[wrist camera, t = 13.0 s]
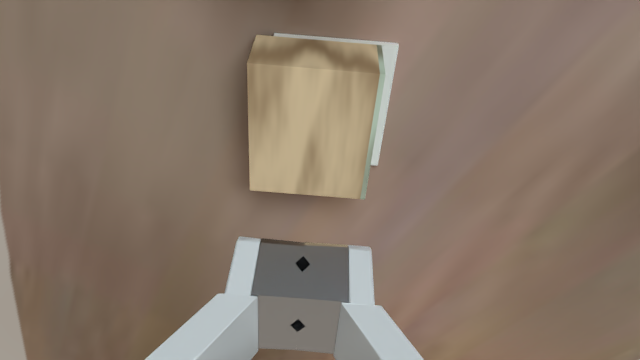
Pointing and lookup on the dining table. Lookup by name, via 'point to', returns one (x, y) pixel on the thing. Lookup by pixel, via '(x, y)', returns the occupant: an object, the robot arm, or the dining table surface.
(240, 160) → the dining table surface
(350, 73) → the oak block
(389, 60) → the felt mat
